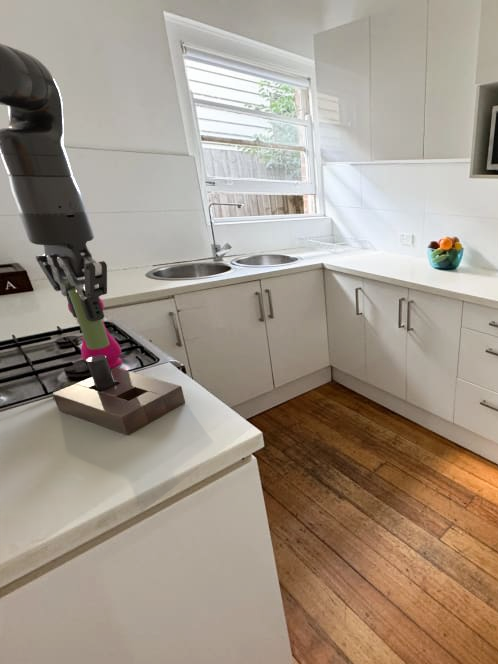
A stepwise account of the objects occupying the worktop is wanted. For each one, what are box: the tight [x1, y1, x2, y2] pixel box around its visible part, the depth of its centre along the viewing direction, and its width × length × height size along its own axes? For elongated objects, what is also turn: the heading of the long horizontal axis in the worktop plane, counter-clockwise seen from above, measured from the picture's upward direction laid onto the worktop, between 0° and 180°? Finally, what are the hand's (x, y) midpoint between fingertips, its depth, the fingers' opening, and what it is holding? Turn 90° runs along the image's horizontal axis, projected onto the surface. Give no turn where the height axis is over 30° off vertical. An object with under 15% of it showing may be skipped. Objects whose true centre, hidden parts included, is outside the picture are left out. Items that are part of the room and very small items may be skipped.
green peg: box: [68, 286, 110, 349], centre depth 63 cm, size 3×3×10 cm
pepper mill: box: [67, 297, 123, 369], centre depth 86 cm, size 7×7×20 cm
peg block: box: [51, 367, 186, 436], centre depth 75 cm, size 12×20×4 cm, turn 69°
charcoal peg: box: [85, 355, 115, 392], centre depth 75 cm, size 3×3×10 cm
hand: (89, 317), depth 63 cm, fingers closed on green peg, 3 cm apart
